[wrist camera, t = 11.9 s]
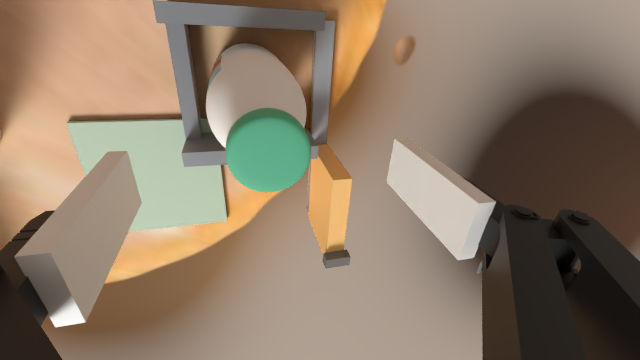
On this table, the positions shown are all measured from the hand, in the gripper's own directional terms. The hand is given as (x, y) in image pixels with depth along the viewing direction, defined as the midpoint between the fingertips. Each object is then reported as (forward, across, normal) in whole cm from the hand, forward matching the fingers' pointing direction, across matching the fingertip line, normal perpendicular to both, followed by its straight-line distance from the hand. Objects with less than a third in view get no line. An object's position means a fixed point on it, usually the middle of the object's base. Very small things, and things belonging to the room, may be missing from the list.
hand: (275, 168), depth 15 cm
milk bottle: (+21, 0, 0) cm, 21 cm away
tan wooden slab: (+20, +8, -13) cm, 25 cm away
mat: (+21, -11, -11) cm, 26 cm away
